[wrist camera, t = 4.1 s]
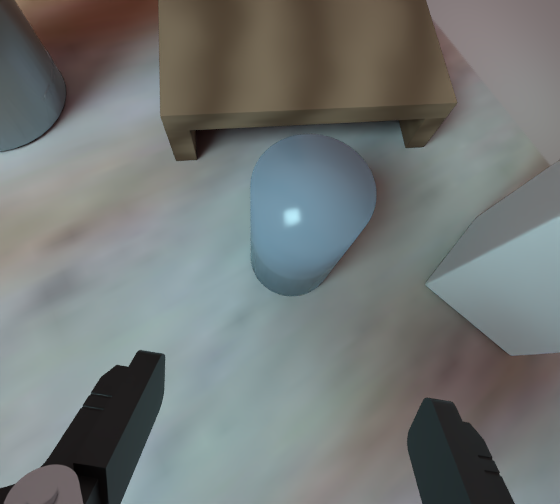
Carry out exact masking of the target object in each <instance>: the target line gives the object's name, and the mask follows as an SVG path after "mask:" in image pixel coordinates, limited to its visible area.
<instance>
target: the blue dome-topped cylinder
mask: <svg viewBox="0 0 560 504" xmlns="http://www.w3.org/2000/svg"><path fill="white" fill-rule="evenodd" d="M375 204H376V185H375V181H374V177H373V175H372V172H371V170H370V168H369V167H368V165H367V163H366V162H365V161H364V159H363V158H362V157H361V156H360V155H359V154H358V153H357V152H356V151H355V150H354V149H352V148H351V147H350V146H348V145H347V144H345V143H343V142H341V141H339V140H337V139H334V138H332V137H329V136H324V135H318V134H300V135H295V136H290V137H288V138H285V139H282V140H281V141H279V142H277V143H275V144H274V145H272V146H271V147H270V148H268V149H267V150H266V151H265V152H264V153H263V155H262V156H261V157H260V158H259V160H258V162H257V163H256V165H255V168H254V170H253V173H252V177H251V264H252V268H253V271H254V273H255V275H256V277H257V278H258V280H259V281H260V282H261V283H262V284H263V285H264V286H265V287H266V288H268V289H269V290H271V291H273V292H275V293H277V294H280V295H284V296H299V295H303V294H307V293H309V292H311V291H313V290H314V289H316V288H317V287H318V286H319V285H320V284H321V283H322V282H323V281H324V279H325V278H326V277H327V275H328V274H329V273H330V272H331V270H332V269H333V268H334V266H335V265H336V264H337V263H338V261H339V260H340V259H341V257H342V256H343V255H344V253H345V252H346V251H347V250H348V248H349V247H350V246H351V244H352V243H353V242H354V241H355V239H356V238H357V237H358V235H359V234H360V233H361V231H362V230H363V229H364V228H365V226H366V225H367V223H368V222H369V220H370V219H371V216H372V214H373V212H374V209H375Z"/></svg>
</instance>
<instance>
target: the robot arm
mask: <svg viewBox="0 0 560 504" xmlns="http://www.w3.org/2000/svg"><path fill="white" fill-rule="evenodd" d="M65 98H66V88H65V83H64V80H63V77H62V75H61V73H60V72H59V70H58V69H57V67H56V65H55V64H54V62H53V60H52V58H51V56H50V54H49V53H48V51H46V49H45V48H44V46H43V45H42V43H41V41H40V40H39V38H38V37H37V35H36V34H35V32H34V30H33V29H32V27H31V25H30V24H29V22H28V21H27V19H26V17H25V16H24V14H23V13H22V11H21V9H20V8H19V6H18V5H17V3H16V2H15V0H0V151H5V150H10V149H14V148H17V147H20V146H22V145H25V144H27V143H29V142H31V141H33V140H34V139H36V138H38V137H39V136H41V135H42V134H43V133H44V132H46V131H47V130H48V129H49V128H50V127H51V126H52V125H53V124H54V122H55V121H56V120H57V118H58V117H59V115H60V113H61V111H62V109H63V107H64V103H65ZM164 381H165V355H164V354H161V353H155V352H149V351H143V350H139V351H138V352H137V353H136V355H135V357H134V358H133V360H132V362H131V363H130V365H129V367H126V366H120V365H116V366H115V367H113V368H112V369H111V370H110V371H108V372H107V373H106V374H104V375H103V376H102V377H101V378H100V380H99V381H98V383H97V384H96V386H95V387H94V389H93V390H92V392H91V395H89V396H88V398H87V400H86V401H85V403H84V404H83V407H82V408H81V409H80V410H79V412H78V413H77V415H76V416H75V418H74V419H73V421H72V423H71V424H70V426H69V427H68V429H67V430H66V432H65V433H64V435H63V436H62V438H61V439H60V441H59V443H58V444H57V446H56V447H55V449H54V450H53V452H52V453H51V455H50V456H49V458H48V459H47V461H46V462H45V463H44V464H43V465H42V466H41V467H40V468H38V469H36V470H33V471H32V472H30V473H28V474H27V475H25V476H24V477H23V478H21V479H20V480H19V481H18V482H17V483H16V484H13V485H10V486H8V487H4V488H0V504H120V503H121V501H122V499H123V496H124V494H125V491H126V489H127V487H128V484H129V482H130V480H131V477H132V475H133V472H134V470H135V468H136V465H137V463H138V460H139V458H140V456H141V453H142V451H143V448H144V446H145V444H146V441H147V439H148V436H149V434H150V432H151V429H152V427H153V424H154V422H155V420H156V417H157V415H158V413H159V410H160V407H161V404H162V400H163V395H164ZM407 446H408V452H409V456H410V460H411V463H412V467H413V471H414V474H415V478H416V482H417V485H418V489H419V493H420V496H421V500H422V504H515V503H514V501H513V499H512V497H511V495H510V493H509V491H508V489H507V487H506V485H505V483H504V481H503V479H502V477H501V476H500V475H499V473H500V472H499V470H498V468H497V466H496V464H495V462H494V461H492V456H491V454H490V452H489V450H488V448H487V446H486V443H485V441H484V439H483V438H482V437H481V436H480V435H479V434H478V432H477V431H476V430H475V429H474V428H473V427H472V425H471V424H470V423H467V422H462V419H461V417H460V415H459V413H458V410H457V408H456V406H455V405H454V403H453V402H451V401H445V400H438V399H432V398H425V399H424V400H423V402H422V404H421V406H420V408H419V410H418V412H417V414H416V416H415V418H414V421H413V423H412V425H411V427H410V429H409V432H408V438H407Z"/></svg>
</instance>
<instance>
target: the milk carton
mask: <svg viewBox="0 0 560 504" xmlns="http://www.w3.org/2000/svg"><path fill="white" fill-rule="evenodd" d="M426 286H427V287H428V288H429V289H431V290H432V291H433V292H434V293H435V294H437V295H438V296H439V297H440V298H441V299H443V300H444V301H445V302H446V303H447V304H449V305H450V306H451V307H452V308H454V309H455V310H456V311H457V312H458V313H460V314H461V315H462V316H463V317H464V318H466V319H467V320H468V321H469V322H470V323H472V324H473V325H474V326H475V327H476V328H478V329H479V330H480V331H481V332H483V333H484V334H485V335H486V336H487V337H489V338H490V339H491V340H492V341H493V342H495V343H496V344H497V345H498V346H499V347H501V348H502V349H503V350H504V351H505V352H507V353H508V354H509V355H511V356H518V355H532V354H547V353H560V160H559V161H557V162H556V163H554V164H553V165H551V166H550V167H548V168H547V169H546V170H544V171H543V172H541V173H540V174H538V175H537V176H536V177H534V178H533V179H531V180H530V181H528V182H527V183H525V184H524V185H523V186H521V187H520V188H518V189H517V190H515V191H514V192H512V193H511V194H510V195H508V196H507V197H505V198H504V199H502V200H501V201H499V202H498V203H497V204H495V205H494V206H492V207H491V208H489V209H488V210H487V211H485V212H484V213H482V214H481V215H479V216H478V217H477V218H476V219H475V220H474V221H473V223H472V224H471V225H470V226H469V228H468V229H467V230H466V231H465V233H464V234H463V235H462V237H461V238H460V239H459V240H458V242H457V243H456V244H455V246H454V247H453V248H452V249H451V251H450V252H449V253H448V255H447V256H446V257H445V258H444V260H443V261H442V262H441V264H440V265H439V266H438V267H437V269H436V270H435V271H434V273H433V274H432V275H431V276H430V278H429V279H428V280H427V282H426Z"/></svg>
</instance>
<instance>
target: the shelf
mask: <svg viewBox="0 0 560 504" xmlns="http://www.w3.org/2000/svg"><path fill="white" fill-rule="evenodd" d="M158 10H159V66H160V116H161V119H162V122H163V125H164V128H165V131H166V133H167V136H168V139H169V142H170V145H171V148H172V151H173V153H174V156H175V159H176V161H184V160H197V150H196V131H195V130H205V129H226V128H246V127H267V126H288V125H308V124H329V123H350V122H370V121H391V120H399V123H400V127H401V131H402V135H403V139H404V144H405V148H413V147H424V146H425V145H426V144H427V142H428V141H429V140H430V138H431V137H432V136H433V134H434V133H435V132H436V130H437V129H438V128H439V126H440V125H441V124H442V122H443V121H444V120H445V119H446V117H447V116H448V115H449V113H450V112H451V111H452V109H453V108H454V107H455V105H456V104H457V100H456V97H455V94H454V90H453V87H452V84H451V81H450V77H449V74H448V71H447V68H446V64H445V61H444V58H443V54H442V51H441V48H440V45H439V41H438V38H437V35H436V32H435V28H434V25H433V22H432V19H431V15H430V12H429V9H428V5H427V2H426V0H158Z"/></svg>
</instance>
